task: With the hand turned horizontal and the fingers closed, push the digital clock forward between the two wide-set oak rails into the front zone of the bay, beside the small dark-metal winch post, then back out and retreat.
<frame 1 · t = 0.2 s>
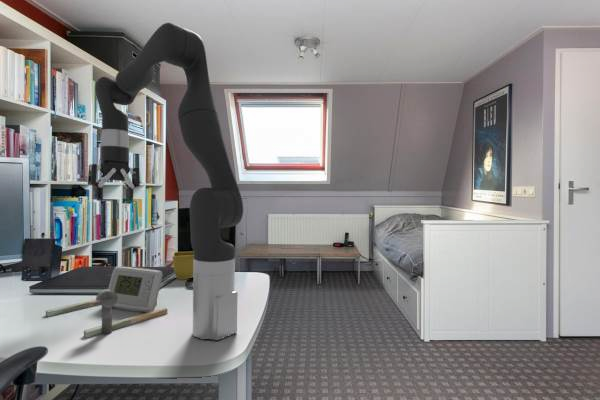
hand: (114, 200, 109), 29 cm above the table, tool pointing down, fingers open, 8 cm apart
digital clock: (133, 308, 100), on the table
flower pot: (185, 278, 133), on the table
bay: (107, 314, 94), on the table
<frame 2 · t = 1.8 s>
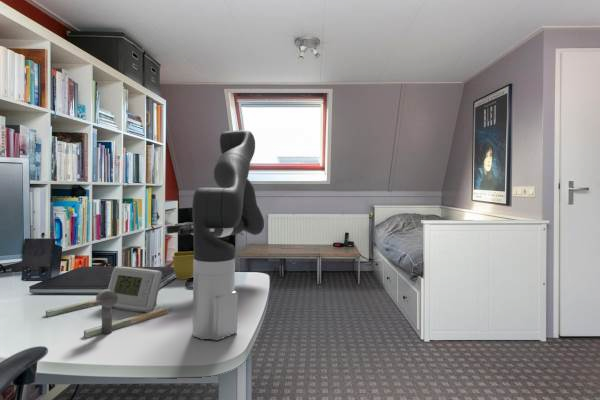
hand: (173, 230, 109), 20 cm above the table, tool horizontal, fingers open, 5 cm apart
nothing on the table moved.
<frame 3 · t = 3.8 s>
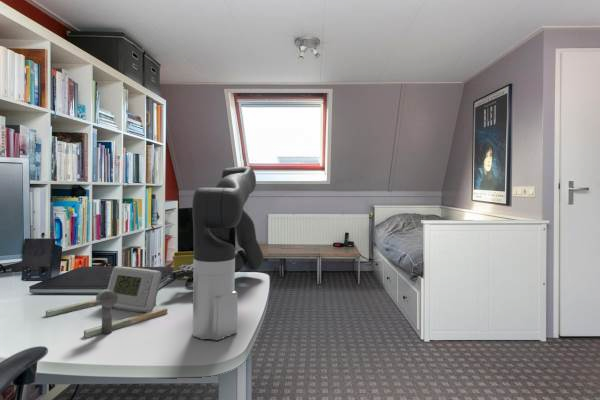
hand: (171, 275, 109), 7 cm above the table, tool horizontal, fingers closed
nothing on the table moved.
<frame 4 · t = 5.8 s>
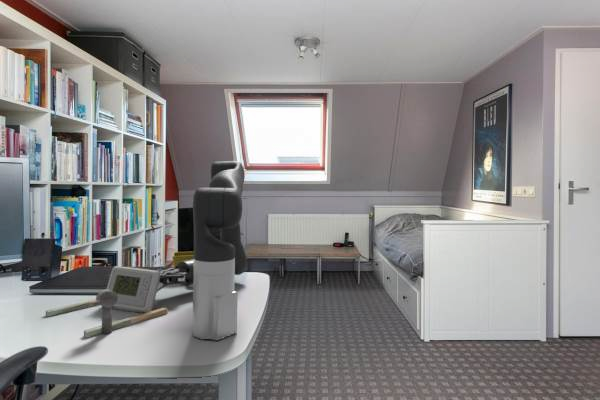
hand: (143, 281, 102), 7 cm above the table, tool horizontal, fingers closed
digital clock: (131, 308, 100), on the table, touching gripper
everything else where it was.
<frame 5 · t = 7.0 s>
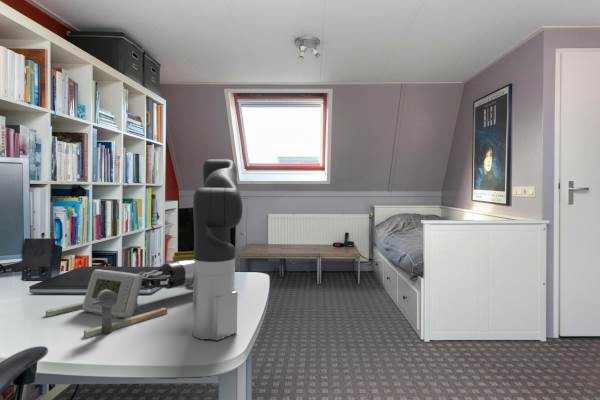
hand: (123, 284, 98), 7 cm above the table, tool horizontal, fingers closed
digital clock: (112, 314, 95), on the table, touching gripper
everything else where it was.
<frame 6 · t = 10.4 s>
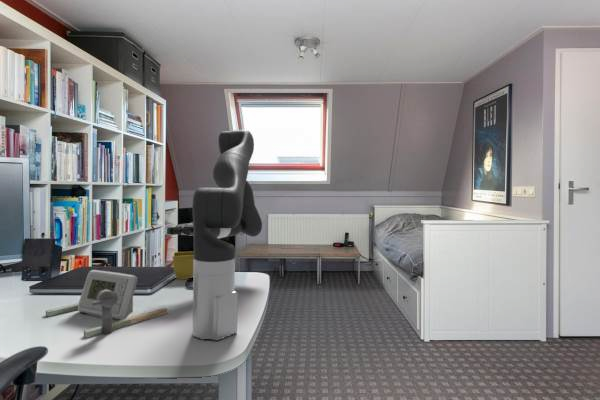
hand: (168, 231, 108), 20 cm above the table, tool horizontal, fingers closed
digital clock: (107, 315, 95), on the table
everything else where it was.
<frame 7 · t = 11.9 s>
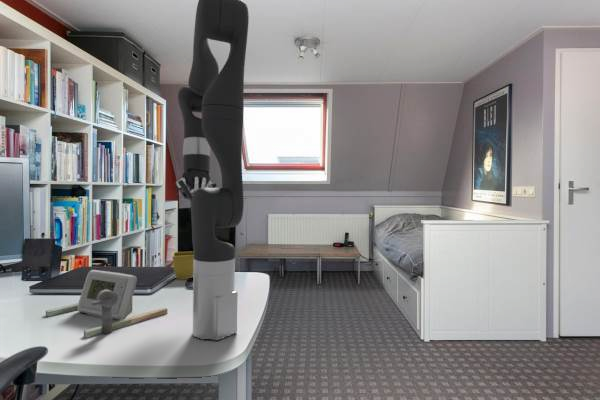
hand: (196, 214, 105), 25 cm above the table, tool pointing down, fingers closed
nothing on the table moved.
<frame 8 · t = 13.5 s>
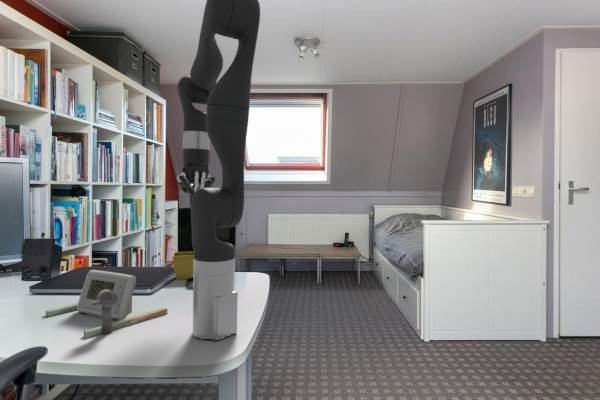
hand: (195, 208, 106), 27 cm above the table, tool pointing down, fingers closed
nothing on the table moved.
at the end: digital clock inside the target area (4.2 cm from its centre), on the table; digital clock tilted 0°; digital clock moved 7.1 cm from its start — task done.
